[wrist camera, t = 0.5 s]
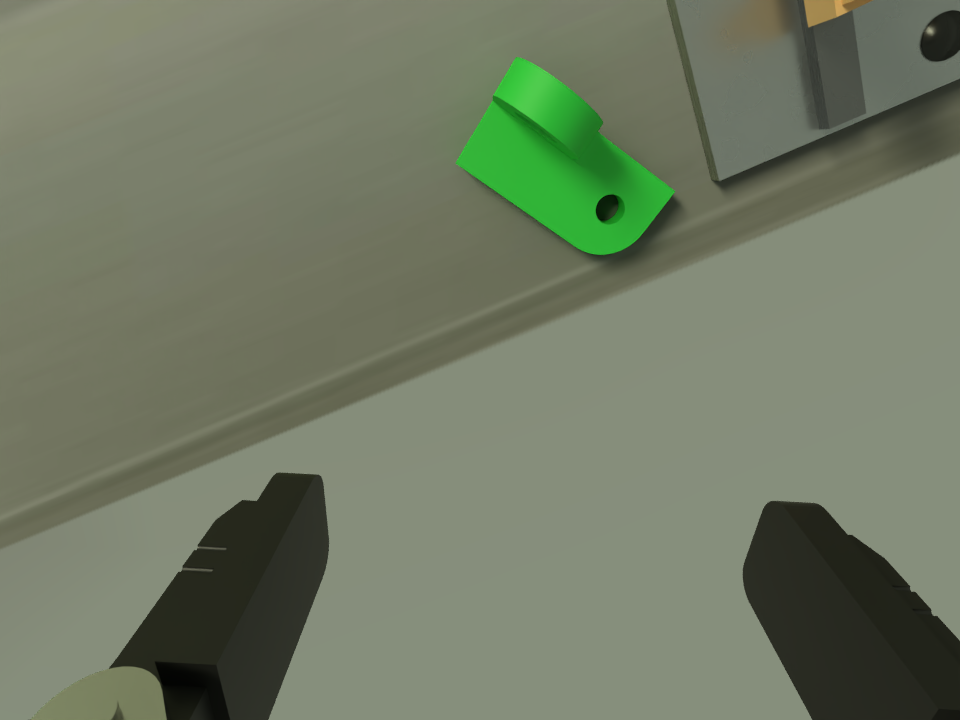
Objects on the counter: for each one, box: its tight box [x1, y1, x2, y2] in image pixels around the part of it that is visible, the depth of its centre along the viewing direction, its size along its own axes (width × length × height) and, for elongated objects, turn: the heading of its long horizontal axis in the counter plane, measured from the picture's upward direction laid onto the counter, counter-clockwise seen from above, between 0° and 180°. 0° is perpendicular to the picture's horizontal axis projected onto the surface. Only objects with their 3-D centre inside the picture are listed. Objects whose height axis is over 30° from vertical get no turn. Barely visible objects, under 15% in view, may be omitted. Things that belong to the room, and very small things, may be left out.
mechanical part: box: [456, 57, 675, 255], centre depth 29 cm, size 12×6×8 cm, turn 57°
